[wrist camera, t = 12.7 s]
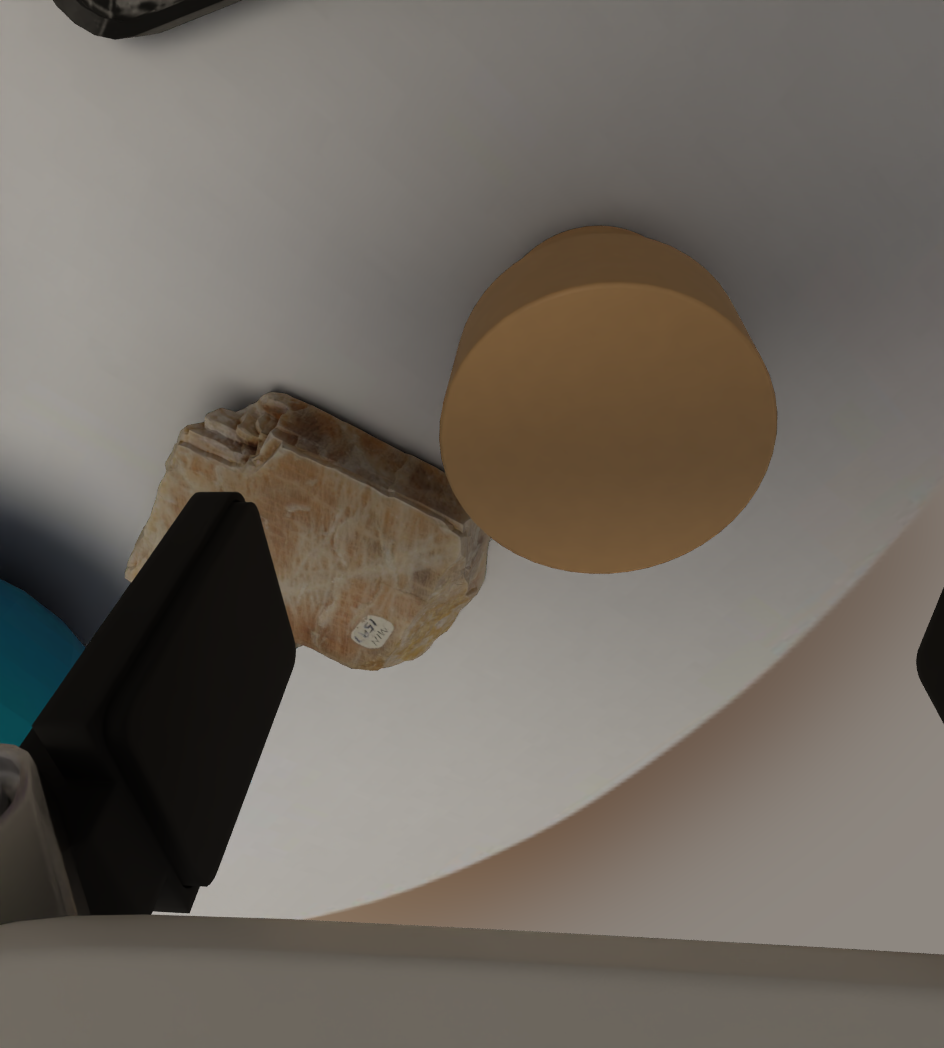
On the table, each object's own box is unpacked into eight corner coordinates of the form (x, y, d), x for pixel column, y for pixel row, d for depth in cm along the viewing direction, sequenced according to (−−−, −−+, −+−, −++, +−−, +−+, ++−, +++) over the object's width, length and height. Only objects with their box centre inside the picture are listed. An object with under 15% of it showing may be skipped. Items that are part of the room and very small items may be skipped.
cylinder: (660, 139, 15) (705, 209, 10) (753, 372, 17) (821, 508, 13) (422, 277, 17) (374, 385, 12) (538, 466, 19) (533, 611, 15)
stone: (534, 516, 20) (532, 575, 18) (425, 652, 24) (413, 715, 22) (229, 351, 18) (187, 397, 16) (159, 527, 22) (117, 583, 20)
